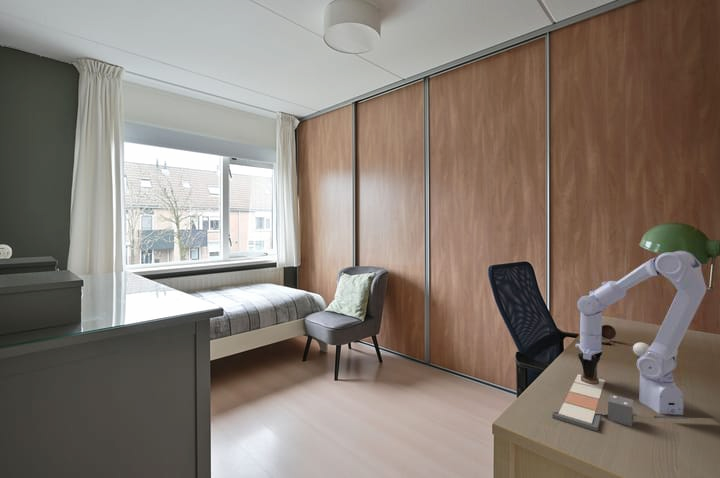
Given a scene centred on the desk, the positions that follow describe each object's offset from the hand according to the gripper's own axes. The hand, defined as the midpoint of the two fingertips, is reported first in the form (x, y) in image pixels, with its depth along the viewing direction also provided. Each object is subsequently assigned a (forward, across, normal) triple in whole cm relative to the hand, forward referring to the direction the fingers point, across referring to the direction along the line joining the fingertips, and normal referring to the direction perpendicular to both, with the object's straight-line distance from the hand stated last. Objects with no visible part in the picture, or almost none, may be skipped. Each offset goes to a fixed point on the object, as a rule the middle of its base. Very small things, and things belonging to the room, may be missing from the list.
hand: (589, 375), depth 112 cm
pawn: (+2, 0, 0) cm, 2 cm away
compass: (+3, -51, 0) cm, 51 cm away
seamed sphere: (+3, -40, +11) cm, 42 cm away
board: (+3, +12, 0) cm, 12 cm away
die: (+3, +18, +9) cm, 20 cm away
